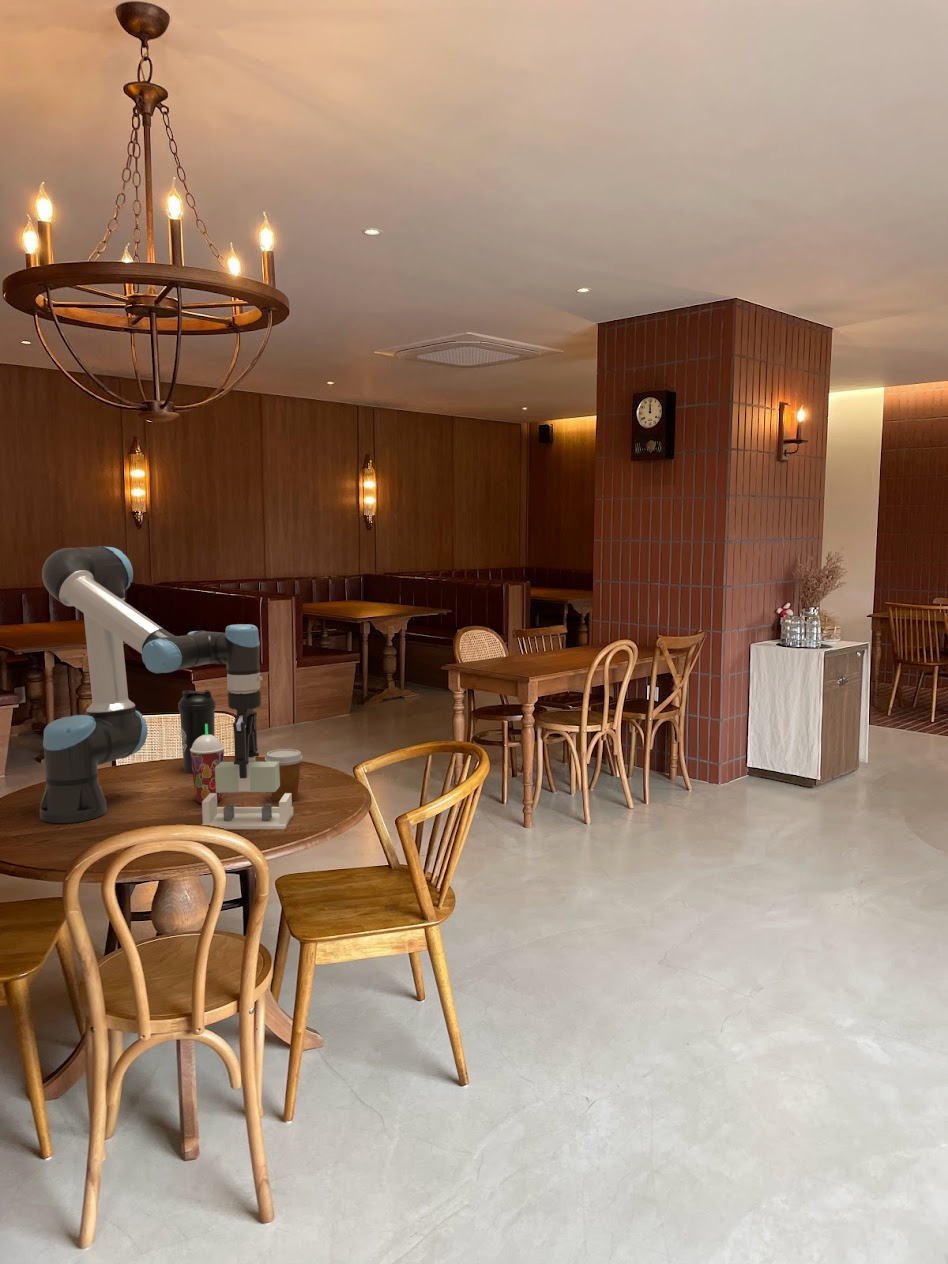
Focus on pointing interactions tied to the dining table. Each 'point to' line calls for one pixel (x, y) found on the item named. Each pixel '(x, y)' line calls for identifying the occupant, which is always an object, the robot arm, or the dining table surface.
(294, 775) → the disposable coffee cup
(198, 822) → the dining table surface
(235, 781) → the shelf block
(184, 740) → the water bottle
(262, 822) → the peg cradle
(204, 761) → the smoothie
